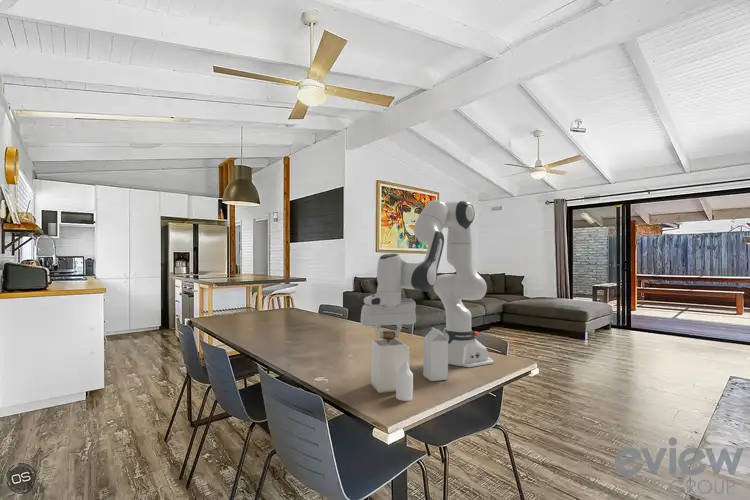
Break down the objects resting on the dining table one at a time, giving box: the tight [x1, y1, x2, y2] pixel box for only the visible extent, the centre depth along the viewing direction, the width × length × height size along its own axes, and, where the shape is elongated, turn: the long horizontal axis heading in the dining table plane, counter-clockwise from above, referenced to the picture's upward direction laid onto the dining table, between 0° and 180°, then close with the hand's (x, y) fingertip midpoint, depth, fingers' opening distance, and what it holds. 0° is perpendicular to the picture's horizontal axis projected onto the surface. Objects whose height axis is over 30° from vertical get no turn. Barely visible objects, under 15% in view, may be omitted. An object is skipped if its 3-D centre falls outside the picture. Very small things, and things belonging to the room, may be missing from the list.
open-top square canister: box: [370, 338, 410, 394], centre depth 135 cm, size 13×10×16 cm
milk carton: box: [422, 327, 449, 382], centre depth 146 cm, size 7×7×19 cm
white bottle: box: [395, 362, 414, 402], centre depth 125 cm, size 6×12×6 cm
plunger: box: [381, 329, 396, 345], centre depth 135 cm, size 8×8×16 cm
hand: (388, 337), depth 135 cm, fingers closed on plunger, 4 cm apart
